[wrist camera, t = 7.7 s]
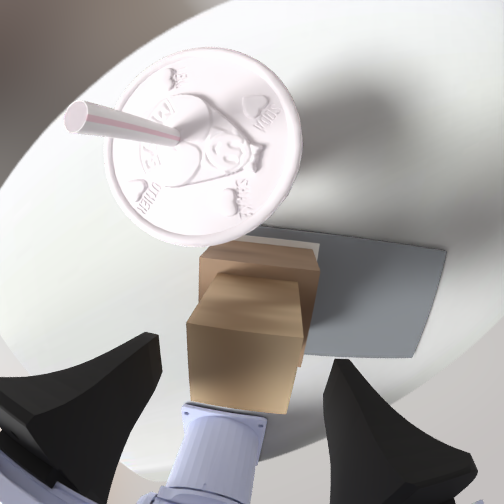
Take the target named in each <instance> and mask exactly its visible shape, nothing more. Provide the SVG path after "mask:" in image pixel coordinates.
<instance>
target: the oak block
mask: <svg viewBox="0 0 504 504" xmlns="http://www.w3.org/2000/svg"><path fill="white" fill-rule="evenodd" d="M186 328H187V351H188V369H189V383H190V396H191V401H195V402H200V403H205V404H210V405H216V406H222V407H228V408H234V409H241V410H249V411H257V412H266V413H276V414H286V412H287V409H288V405H289V401H290V397H291V392H292V388H293V384H294V380H295V375H296V371H297V367H298V362H299V357H300V353H301V348H302V343H303V338H304V336H303V326H302V316H301V306H300V297H299V288H298V282H294V281H284V280H275V279H265V278H257V277H248V276H239V275H231V274H222V273H217V275H216V276H215V278H214V280H213V281H212V283H211V284H210V286H209V287H208V289H207V291H206V292H205V294H204V295H203V297H202V298H201V300H200V302H199V303H198V305H197V306H196V308H195V310H194V311H193V313H192V314H191V316H190V318H189V319H188V321H187V322H186Z"/></svg>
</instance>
